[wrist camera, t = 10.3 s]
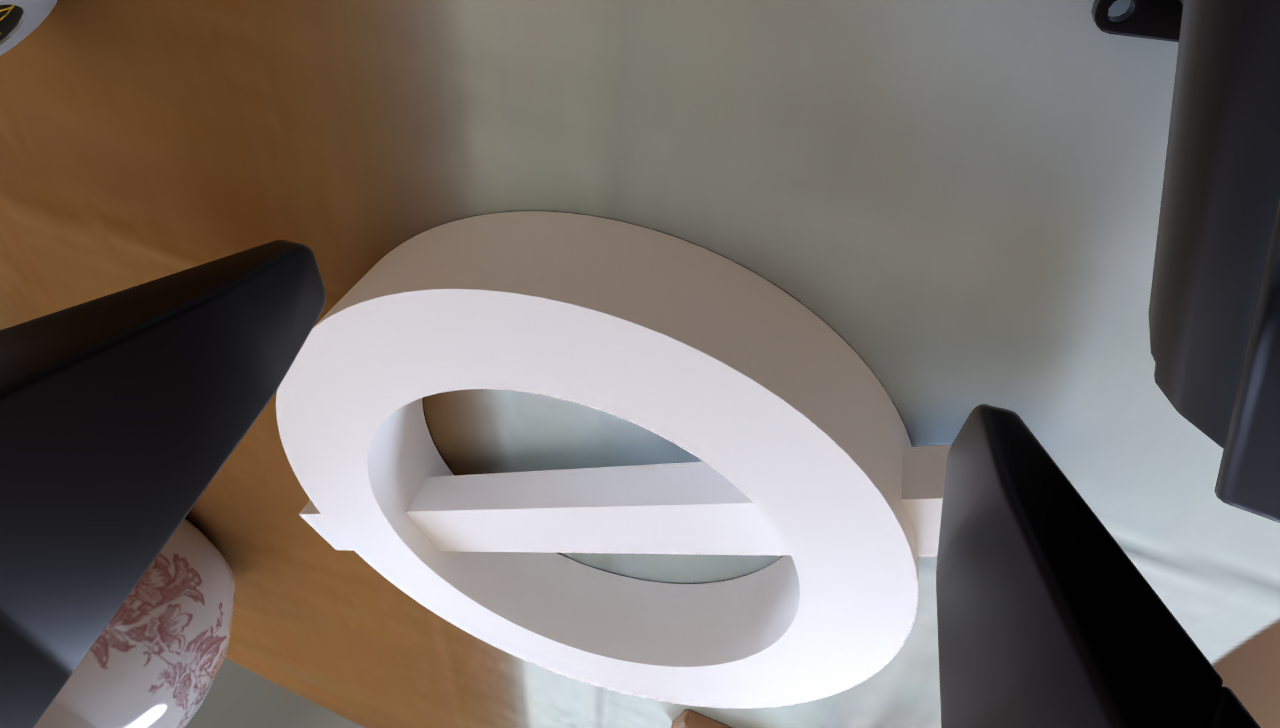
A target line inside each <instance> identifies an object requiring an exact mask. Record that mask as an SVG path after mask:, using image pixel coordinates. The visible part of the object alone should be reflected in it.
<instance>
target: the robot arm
mask: <svg viewBox="0 0 1280 728" xmlns="http://www.w3.org/2000/svg"><path fill="white" fill-rule="evenodd" d="M1115 1H1117V0H1095V1H1094V4H1093V8H1092V16H1093V20H1094V22H1095V23H1096V25H1097V26H1098V27H1099V28H1100V30H1101V31H1103V32H1106V33H1109V34H1116V35H1124V36H1132V37H1141V38H1149V39H1157V40H1165V41H1173V42H1179V47H1178V56H1177V65H1176V74H1175V83H1174V92H1173V100H1172V109H1171V118H1170V127H1169V136H1168V145H1167V154H1166V163H1165V172H1164V181H1163V190H1162V199H1161V208H1160V217H1159V226H1158V234H1157V243H1156V252H1155V261H1154V270H1153V279H1152V288H1151V297H1150V306H1149V328H1150V345H1151V353H1152V356H1153V358H1154V360H1155V362H1156V365H1155V373H1154V377H1155V382H1156V384H1157V385H1158V386H1159V388H1160V389H1161V390H1162V392H1163V393H1164V394H1165V396H1166V397H1167V398H1168V400H1169V401H1170V402H1171V404H1172V405H1173V406H1174V408H1175V409H1176V410H1177V411H1178V413H1179V414H1181V415H1182V416H1183V417H1184V418H1186V419H1187V420H1188V421H1189V422H1191V423H1192V424H1193V425H1194V426H1196V427H1197V428H1198V429H1199V430H1201V431H1202V432H1203V433H1204V434H1206V435H1207V436H1208V437H1209V438H1211V439H1212V440H1213V441H1214V442H1216V443H1217V444H1218V445H1219V446H1221V447H1222V448H1224V451H1223V456H1222V460H1221V465H1220V469H1219V474H1218V478H1217V483H1216V487H1215V493H1216V495H1217V497H1218V498H1219V499H1220V500H1221V501H1223V502H1224V503H1227V504H1229V505H1231V506H1234V507H1237V508H1240V509H1242V510H1245V511H1248V512H1251V513H1254V514H1257V515H1259V516H1262V517H1265V518H1268V519H1271V520H1273V521H1276V522H1279V523H1280V0H1131V5H1130V7H1129V8H1128V10H1127V11H1126V12H1125V13H1123V14H1122V15H1120V16H1116V17H1111V16H1108V9H1109V8H1110V6H1111V5H1112V4H1113V2H1115ZM325 303H326V290H325V287H324V284H323V280H322V277H321V274H320V271H319V268H318V265H317V262H316V258H315V255H314V253H313V251H312V250H311V249H310V248H309V247H307V246H306V245H303V244H299V243H295V242H291V241H286V240H276V241H273V242H270V243H267V244H264V245H261V246H257V247H254V248H251V249H248V250H245V251H242V252H239V253H236V254H233V255H230V256H227V257H224V258H221V259H218V260H215V261H211V262H208V263H205V264H202V265H199V266H196V267H193V268H190V269H187V270H184V271H181V272H178V273H175V274H172V275H168V276H165V277H162V278H159V279H156V280H153V281H150V282H147V283H144V284H141V285H138V286H135V287H132V288H129V289H125V290H122V291H119V292H116V293H113V294H110V295H107V296H104V297H101V298H98V299H95V300H92V301H89V302H86V303H83V304H79V305H76V306H73V307H70V308H67V309H64V310H61V311H58V312H55V313H52V314H49V315H46V316H43V317H40V318H36V319H33V320H30V321H27V322H24V323H21V324H18V325H15V326H12V327H9V328H6V329H3V330H0V728H34V726H35V725H36V724H37V722H38V721H39V719H40V718H41V717H42V715H43V714H44V712H45V711H46V710H47V708H48V707H49V706H50V704H51V703H52V701H53V700H54V699H55V697H56V696H57V695H58V693H59V692H60V690H61V689H62V688H63V686H64V685H65V683H66V682H67V681H68V679H69V678H70V677H71V675H72V674H73V671H72V670H74V669H76V668H77V666H78V665H79V663H80V662H81V661H82V659H83V658H84V657H85V655H86V654H87V652H88V651H89V650H90V648H91V647H92V645H93V644H94V643H95V641H96V640H97V639H98V637H99V636H100V634H101V633H102V632H103V630H104V629H105V628H106V626H107V625H108V623H109V622H110V621H111V619H112V618H113V617H114V615H115V614H116V612H117V611H118V610H119V608H120V607H121V605H122V604H123V603H124V601H125V600H126V599H127V597H128V596H129V594H130V593H131V592H132V590H133V589H134V588H135V586H136V585H137V583H138V582H139V581H140V579H141V578H142V577H143V575H144V574H145V572H146V571H147V570H148V568H149V567H150V565H151V564H152V563H153V561H154V560H155V559H156V557H157V556H158V554H159V553H160V552H161V550H162V549H163V548H164V546H165V545H166V543H167V542H168V541H169V539H170V538H171V537H172V535H173V534H174V532H175V531H176V530H177V528H178V527H179V525H180V524H181V523H182V521H183V520H184V519H185V517H186V516H187V514H188V513H189V512H190V510H191V509H192V508H193V506H194V505H195V503H196V502H197V501H198V499H199V498H200V497H201V495H202V494H203V492H204V491H205V490H206V488H207V487H208V485H209V484H210V483H211V481H212V480H213V479H214V477H215V476H216V474H217V473H218V472H219V470H220V469H221V468H222V466H223V465H224V463H225V462H226V461H227V459H228V458H229V457H230V455H231V454H232V452H233V451H234V450H235V448H236V447H237V445H238V444H239V443H240V441H241V440H242V439H243V437H244V436H245V434H246V433H247V432H248V430H249V429H250V428H251V426H252V425H253V423H254V422H255V421H256V419H257V418H258V417H259V415H260V414H261V412H262V411H263V410H264V408H265V407H266V405H267V404H268V403H269V401H270V400H271V398H272V397H273V395H274V394H275V392H276V391H277V389H278V387H279V386H280V384H281V382H282V381H283V379H284V377H285V376H286V374H287V372H288V370H289V369H290V367H291V365H292V363H293V362H294V360H295V358H296V356H297V355H298V353H299V351H300V349H301V348H302V346H303V344H304V342H305V341H306V339H307V337H308V335H309V334H310V332H311V330H312V328H313V327H314V325H315V323H316V321H317V320H318V318H319V316H320V314H321V313H322V311H323V309H324V306H325ZM936 592H937V619H938V646H939V672H940V699H941V726H942V728H1260V727H1259V725H1258V724H1257V723H1256V721H1255V720H1254V719H1253V718H1252V716H1251V715H1250V714H1249V712H1248V711H1247V710H1246V709H1245V707H1244V706H1243V705H1242V703H1241V702H1240V701H1239V699H1238V698H1237V697H1236V696H1235V694H1234V693H1233V692H1232V690H1231V689H1230V688H1228V687H1225V686H1222V684H1223V680H1222V678H1221V677H1220V675H1219V674H1218V673H1217V671H1216V670H1215V669H1214V668H1213V666H1212V665H1211V664H1210V662H1209V661H1208V660H1207V659H1206V657H1205V656H1204V655H1203V653H1202V652H1201V651H1200V649H1199V648H1198V647H1197V646H1196V644H1195V643H1194V642H1193V640H1192V639H1191V638H1190V637H1189V635H1188V634H1187V633H1186V631H1185V630H1184V629H1183V627H1182V626H1181V625H1180V624H1179V622H1178V621H1177V620H1176V618H1175V617H1174V616H1173V615H1172V613H1171V612H1170V611H1169V609H1168V608H1167V607H1166V605H1165V604H1164V603H1163V602H1162V600H1161V599H1160V598H1159V596H1158V595H1157V594H1156V593H1155V591H1154V590H1153V589H1152V587H1151V586H1150V585H1149V584H1148V582H1147V581H1146V580H1145V578H1144V577H1143V576H1142V574H1141V573H1140V572H1139V571H1138V569H1137V568H1136V567H1135V565H1134V564H1133V563H1132V562H1131V560H1130V559H1129V558H1128V556H1127V555H1126V554H1125V552H1124V551H1123V550H1122V549H1121V547H1120V546H1119V545H1118V543H1117V542H1116V541H1115V540H1114V538H1113V537H1112V536H1111V534H1110V533H1109V532H1108V531H1107V529H1106V528H1105V527H1104V525H1103V524H1102V523H1101V521H1100V520H1099V519H1098V518H1097V516H1096V515H1095V514H1094V512H1093V511H1092V510H1091V509H1090V507H1089V506H1088V505H1087V503H1086V502H1085V501H1084V499H1083V498H1082V497H1081V496H1080V494H1079V493H1078V492H1077V490H1076V489H1075V488H1074V487H1073V485H1072V484H1071V483H1070V481H1069V480H1068V479H1067V477H1066V476H1065V475H1064V474H1063V472H1062V471H1061V470H1060V468H1059V467H1058V466H1057V465H1056V463H1055V462H1054V461H1053V459H1052V458H1051V457H1050V456H1049V454H1048V453H1047V452H1046V450H1045V449H1044V448H1043V446H1042V445H1041V444H1040V443H1039V441H1038V440H1037V439H1036V437H1035V436H1034V435H1033V434H1032V432H1031V431H1030V430H1029V428H1028V427H1027V426H1026V424H1025V423H1024V422H1023V421H1022V419H1021V418H1020V417H1019V416H1018V415H1017V414H1016V413H1015V412H1013V411H1011V410H1007V409H1003V408H999V407H995V406H990V405H986V404H981V405H978V406H977V407H975V408H974V409H973V411H972V412H971V414H970V415H969V417H968V419H967V420H966V422H965V424H964V425H963V427H962V429H961V430H960V432H959V434H958V435H957V437H956V439H955V440H954V442H953V444H952V446H951V448H950V450H949V453H948V456H947V461H946V469H945V480H944V491H943V502H942V512H941V523H940V534H939V545H938V556H937V570H936Z"/></svg>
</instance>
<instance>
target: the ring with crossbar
mask: <svg viewBox="0 0 1280 728" xmlns="http://www.w3.org/2000/svg"><path fill="white" fill-rule="evenodd" d="M466 389H500V390H512V391H521V392H528V393H535V394H540V395H545V396H550V397H555V398H559V399H563V400H567V401H571V402H575V403H578V404H582V405H585V406H588V407H592V408H595V409H597V410H600V411H603V412H606V413H609V414H612V415H614V416H617V417H619V418H622V419H624V420H627V421H629V422H632V423H634V424H636V425H638V426H640V427H643V428H645V429H647V430H649V431H651V432H653V433H655V434H657V435H659V436H661V437H663V438H665V439H667V440H669V441H670V442H672V443H674V444H676V445H678V446H679V447H681V448H683V449H684V450H686V451H688V452H689V453H691V454H692V455H694V456H696V457H697V458H699V459H700V460H702V461H703V462H688V463H670V464H652V465H634V466H617V467H599V468H581V469H563V470H546V471H528V472H510V473H492V474H474V475H457V476H454V474H453V473H452V472H451V471H450V469H449V468H448V466H447V465H446V464H445V462H444V460H443V459H442V457H441V456H440V454H439V452H438V450H437V449H436V447H435V445H434V443H433V441H432V438H431V436H430V433H429V431H428V428H427V425H426V421H425V417H424V413H423V405H422V398H423V397H426V396H429V395H433V394H437V393H442V392H448V391H455V390H466ZM276 414H277V423H278V428H279V434H280V437H281V441H282V444H283V447H284V450H285V453H286V455H287V458H288V460H289V463H290V465H291V467H292V469H293V471H294V473H295V475H296V477H297V479H298V480H299V482H300V484H301V486H302V487H303V489H304V490H305V492H306V494H307V495H308V497H309V498H310V500H309V502H308V503H307V504H306V506H305V507H304V508H303V509H302V511H301V512H300V513H299V515H300V516H301V517H302V518H303V519H304V520H305V521H306V522H307V523H308V524H309V525H310V526H311V527H313V528H314V529H315V530H316V531H317V532H318V533H319V534H320V535H321V536H322V537H323V538H324V539H325V540H326V541H327V542H328V543H329V544H330V545H331V546H332V547H334V548H335V549H336V550H354V551H355V552H356V553H357V554H358V555H359V556H361V557H362V558H363V559H364V560H365V561H366V562H367V563H368V564H369V565H371V566H372V567H373V568H374V569H375V570H376V571H378V572H379V573H380V574H381V575H382V576H384V577H385V578H386V579H387V580H389V581H390V582H391V583H392V584H394V585H395V586H396V587H398V588H399V589H400V590H402V591H403V592H404V593H406V594H407V595H408V596H410V597H411V598H413V599H414V600H416V601H417V602H419V603H420V604H421V605H423V606H424V607H426V608H428V609H429V610H431V611H432V612H434V613H435V614H437V615H438V616H440V617H442V618H443V619H445V620H447V621H448V622H450V623H452V624H453V625H455V626H457V627H459V628H460V629H462V630H464V631H466V632H467V633H469V634H471V635H473V636H475V637H477V638H479V639H480V640H482V641H484V642H486V643H488V644H490V645H492V646H494V647H496V648H499V649H501V650H503V651H505V652H507V653H509V654H511V655H514V656H516V657H518V658H520V659H523V660H525V661H527V662H530V663H532V664H535V665H537V666H539V667H542V668H545V669H547V670H550V671H552V672H555V673H558V674H561V675H564V676H566V677H569V678H572V679H575V680H578V681H581V682H584V683H588V684H591V685H594V686H598V687H601V688H604V689H608V690H612V691H616V692H620V693H624V694H628V695H632V696H637V697H641V698H646V699H651V700H657V701H662V702H668V703H675V704H682V705H690V706H700V707H712V708H768V707H779V706H787V705H794V704H800V703H805V702H810V701H814V700H818V699H821V698H825V697H828V696H831V695H834V694H837V693H840V692H842V691H845V690H847V689H850V688H852V687H854V686H856V685H858V684H860V683H861V682H863V681H865V680H866V679H868V678H870V677H871V676H873V675H874V674H876V673H877V672H878V671H879V670H881V669H882V668H883V667H885V666H886V665H887V664H888V663H889V662H890V661H891V660H892V659H893V658H894V656H895V655H896V654H897V653H898V651H899V650H900V649H901V648H902V646H903V644H904V643H905V641H906V639H907V638H908V636H909V633H910V631H911V628H912V626H913V624H914V620H915V616H916V612H917V604H918V557H937V556H938V545H939V534H940V523H941V512H942V502H943V491H944V480H945V469H946V461H947V456H948V453H949V450H950V448H951V446H952V445H938V446H921V447H912V445H911V442H910V439H909V436H908V434H907V431H906V428H905V426H904V424H903V422H902V420H901V417H900V415H899V413H898V411H897V409H896V407H895V406H894V404H893V402H892V401H891V399H890V397H889V396H888V394H887V392H886V390H885V389H884V388H883V386H882V385H881V383H880V382H879V381H878V379H877V378H876V376H875V375H874V374H873V372H872V371H871V370H870V369H869V367H868V366H867V365H866V364H865V363H864V361H863V360H862V359H861V358H860V357H859V355H858V354H857V353H856V352H855V351H854V350H853V349H852V348H851V347H850V346H849V345H848V344H847V343H846V342H845V341H844V340H843V339H842V338H841V337H840V336H839V335H838V334H837V333H836V332H835V331H834V330H833V329H831V328H830V327H829V326H828V325H827V324H826V323H825V322H824V321H823V320H821V319H820V318H819V317H818V316H816V315H815V314H814V313H813V312H811V311H810V310H809V309H808V308H806V307H805V306H804V305H802V304H801V303H800V302H798V301H797V300H796V299H794V298H793V297H791V296H790V295H788V294H787V293H785V292H784V291H783V290H781V289H780V288H778V287H777V286H775V285H773V284H772V283H770V282H768V281H767V280H765V279H763V278H762V277H760V276H758V275H757V274H755V273H753V272H752V271H750V270H748V269H746V268H744V267H742V266H740V265H738V264H736V263H734V262H733V261H731V260H729V259H727V258H724V257H722V256H720V255H718V254H716V253H713V252H711V251H709V250H707V249H705V248H702V247H700V246H697V245H695V244H692V243H689V242H687V241H684V240H682V239H679V238H676V237H674V236H670V235H667V234H664V233H661V232H658V231H655V230H652V229H649V228H645V227H641V226H637V225H633V224H629V223H625V222H621V221H616V220H611V219H606V218H600V217H595V216H588V215H580V214H572V213H561V212H545V211H517V212H504V213H493V214H486V215H480V216H474V217H469V218H465V219H461V220H456V221H452V222H449V223H446V224H443V225H440V226H437V227H434V228H432V229H429V230H427V231H425V232H423V233H420V234H418V235H416V236H414V237H412V238H411V239H409V240H407V241H405V242H403V243H402V244H400V245H399V246H397V247H396V248H395V249H393V250H392V251H390V252H389V253H388V254H386V255H385V256H384V257H383V258H382V259H381V260H380V261H379V262H378V263H376V264H375V265H374V266H373V267H372V268H371V269H370V270H369V271H368V272H367V273H366V274H365V275H364V276H363V277H362V279H361V280H360V281H359V282H358V283H357V284H356V285H355V286H354V287H353V288H352V289H351V290H350V291H349V292H348V293H347V294H346V295H345V296H344V297H343V298H342V299H341V300H340V301H339V302H338V303H337V304H336V305H335V306H334V307H333V308H332V309H331V310H330V311H329V312H328V313H327V314H326V315H325V316H324V317H323V318H322V319H321V320H320V321H319V322H318V323H317V324H316V325H315V326H314V327H313V328H312V330H311V332H310V334H309V335H308V337H307V339H306V341H305V342H304V344H303V346H302V348H301V349H300V351H299V353H298V355H297V356H296V358H295V360H294V362H293V363H292V365H291V367H290V369H289V370H288V372H287V374H286V376H285V377H284V379H283V381H282V382H281V384H280V386H279V387H278V389H277V395H276ZM557 553H616V554H697V555H778V556H783V557H782V558H780V559H779V560H777V561H776V562H774V563H773V564H771V565H769V566H768V567H766V568H764V569H762V570H759V571H757V572H755V573H752V574H749V575H746V576H743V577H740V578H736V579H732V580H727V581H721V582H714V583H703V584H671V583H659V582H651V581H644V580H639V579H633V578H629V577H624V576H620V575H616V574H612V573H609V572H605V571H602V570H599V569H596V568H592V567H589V566H587V565H584V564H581V563H579V562H576V561H574V560H571V559H569V558H566V557H564V556H562V555H560V554H557Z"/></svg>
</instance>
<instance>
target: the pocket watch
mask: <svg viewBox="0 0 1280 728" xmlns="http://www.w3.org/2000/svg"><path fill="white" fill-rule="evenodd" d="M57 1H58V0H0V56H1V55H2V54H4V53H5V52H7V51H8V50H10V49H11V48H13V47H14V46H16V45H17V44H18V43H19V42H21V41H22V40H23V39H24V38H25V37H26V36H28V35H29V34H30V33H31V32H32V31H34V30H35V29H36V28H37V27H38V26H39V25H40V24H41V23H42V22H43V21H44V20H45V18H46V17H47V16H48V15H49V14H50V12H51V11H52V9H53V8H54V6H55V5H56V3H57Z"/></svg>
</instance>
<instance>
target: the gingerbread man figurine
mask: <svg viewBox="0 0 1280 728" xmlns="http://www.w3.org/2000/svg"><path fill="white" fill-rule="evenodd" d="M671 728H731V727H728V726H726V725H724V724H721V723H719V722H717V721H714V720H712V719H710V718H707V717H705V716H702V715H700V714H698V713H695V712H693V711H691V710H685V711H684V712H683V713H682V714H681V715H680V716H679V717H678V718H677V719H676V720H674V721H673V723H672V727H671Z"/></svg>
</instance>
